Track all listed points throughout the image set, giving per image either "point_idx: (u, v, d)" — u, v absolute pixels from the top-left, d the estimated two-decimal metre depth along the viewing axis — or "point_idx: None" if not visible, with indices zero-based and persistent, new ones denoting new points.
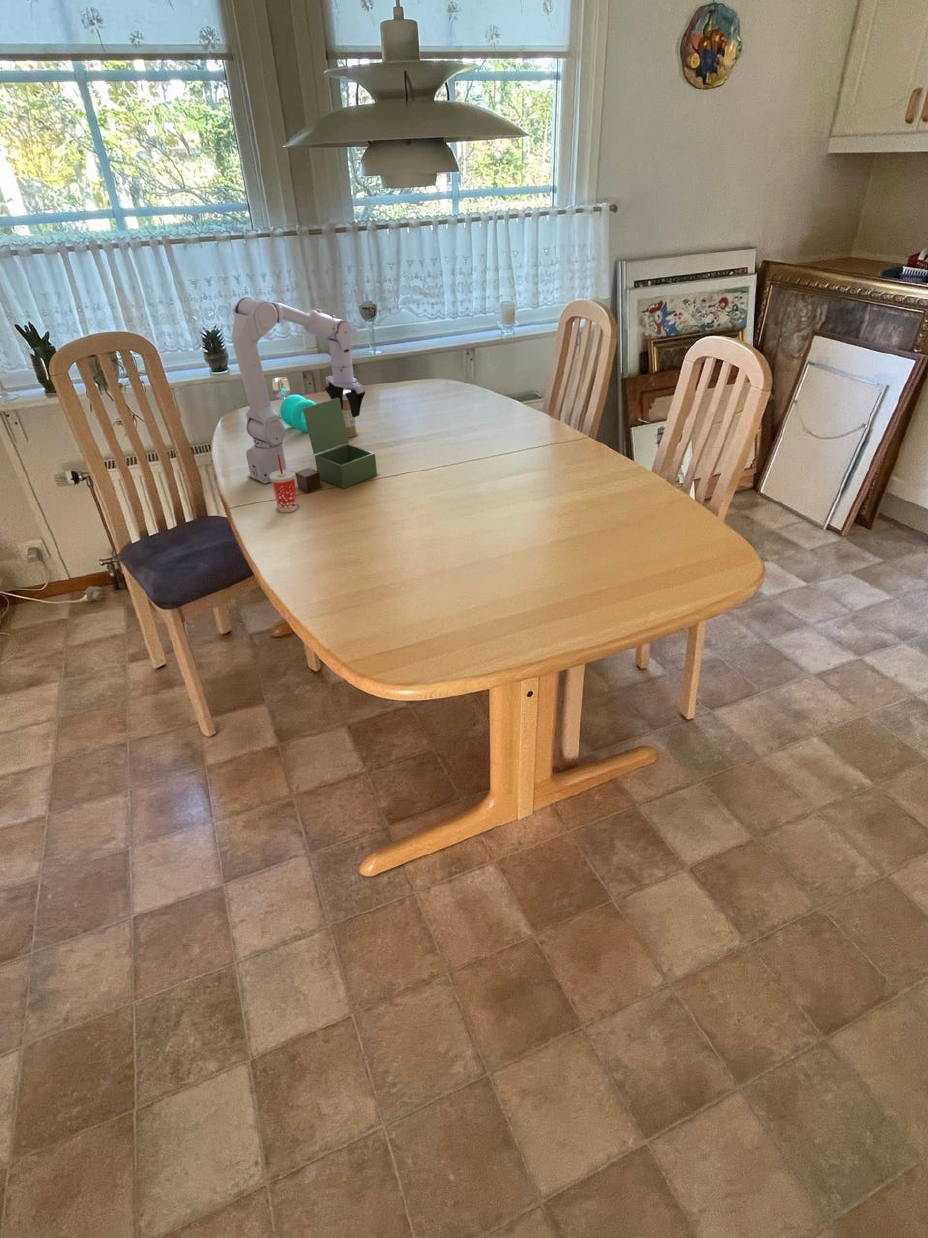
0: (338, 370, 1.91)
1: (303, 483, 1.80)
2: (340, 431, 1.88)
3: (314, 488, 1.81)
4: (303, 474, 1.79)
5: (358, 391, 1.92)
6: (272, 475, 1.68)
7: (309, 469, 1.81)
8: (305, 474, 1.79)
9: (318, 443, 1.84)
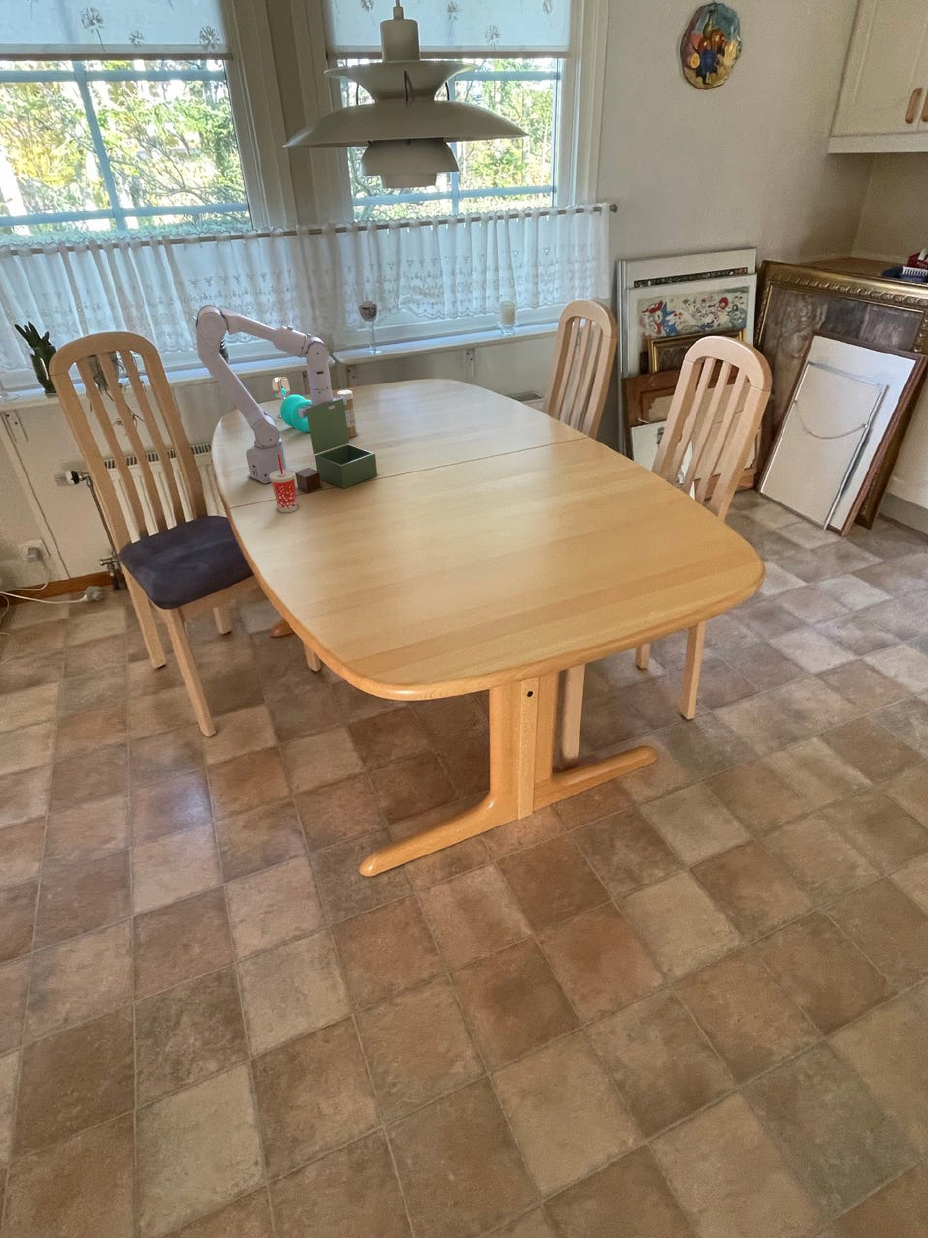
0: None
1: (303, 483, 1.80)
2: (341, 431, 1.88)
3: (314, 488, 1.81)
4: (303, 474, 1.79)
5: (299, 414, 1.82)
6: (272, 475, 1.68)
7: (309, 469, 1.81)
8: (305, 474, 1.79)
9: (319, 443, 1.84)
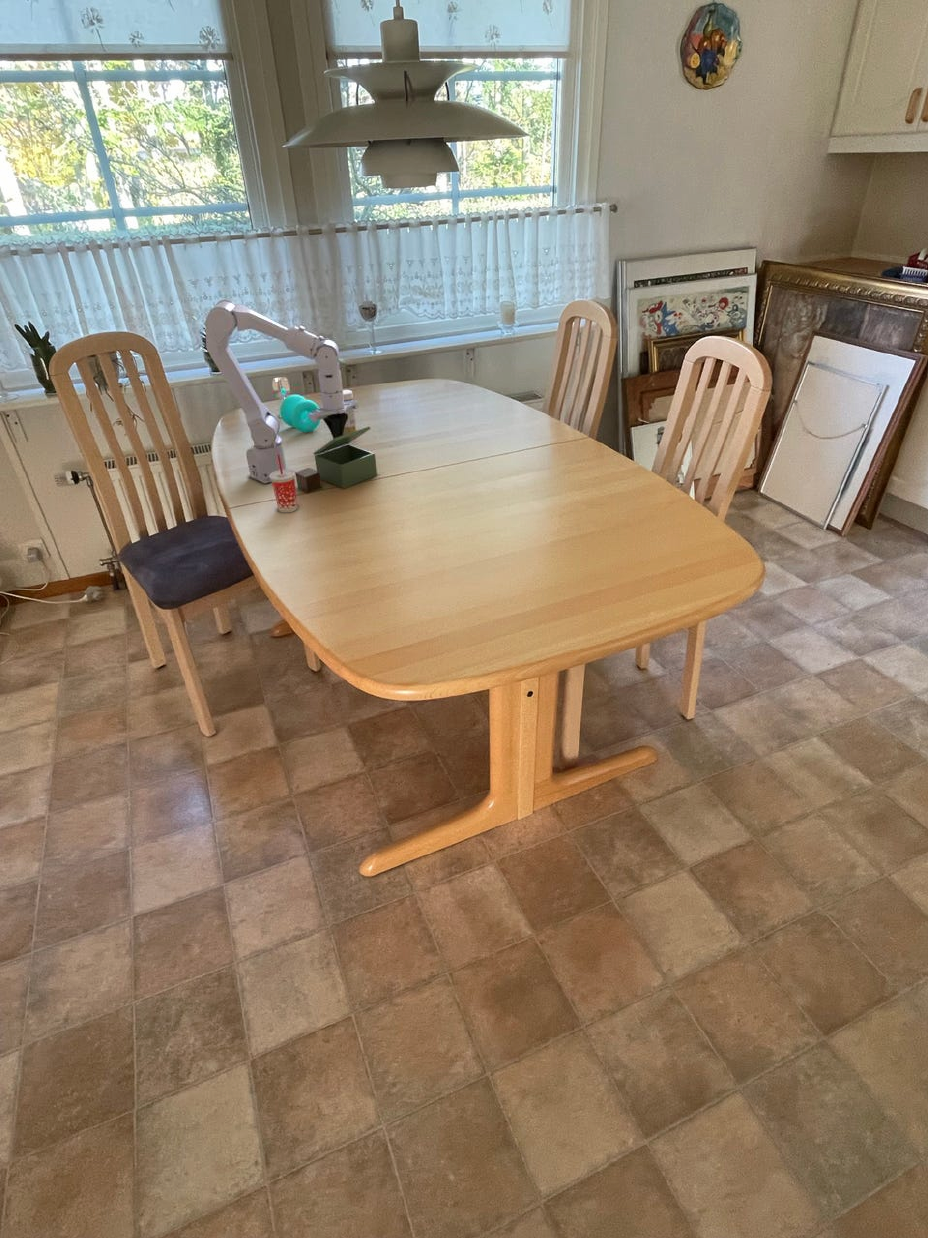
0: None
1: (303, 483, 1.80)
2: (349, 441, 1.88)
3: (314, 488, 1.81)
4: (303, 474, 1.79)
5: (310, 418, 1.79)
6: (272, 475, 1.68)
7: (309, 469, 1.81)
8: (305, 474, 1.79)
9: (324, 450, 1.84)
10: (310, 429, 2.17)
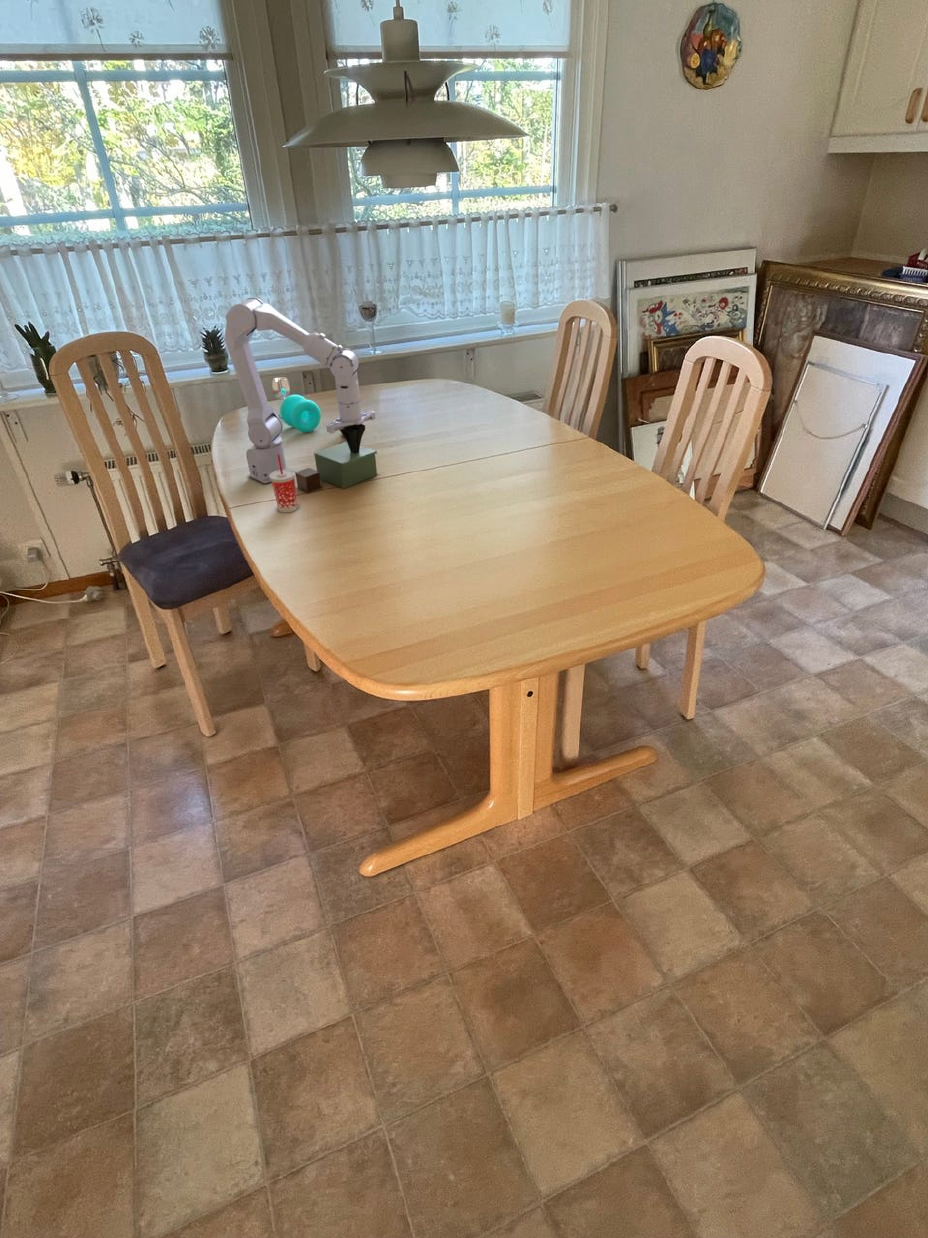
0: None
1: (303, 483, 1.80)
2: None
3: (314, 488, 1.81)
4: (303, 474, 1.79)
5: (327, 429, 1.76)
6: (272, 475, 1.68)
7: (309, 469, 1.81)
8: (305, 474, 1.79)
9: None
10: (310, 429, 2.17)
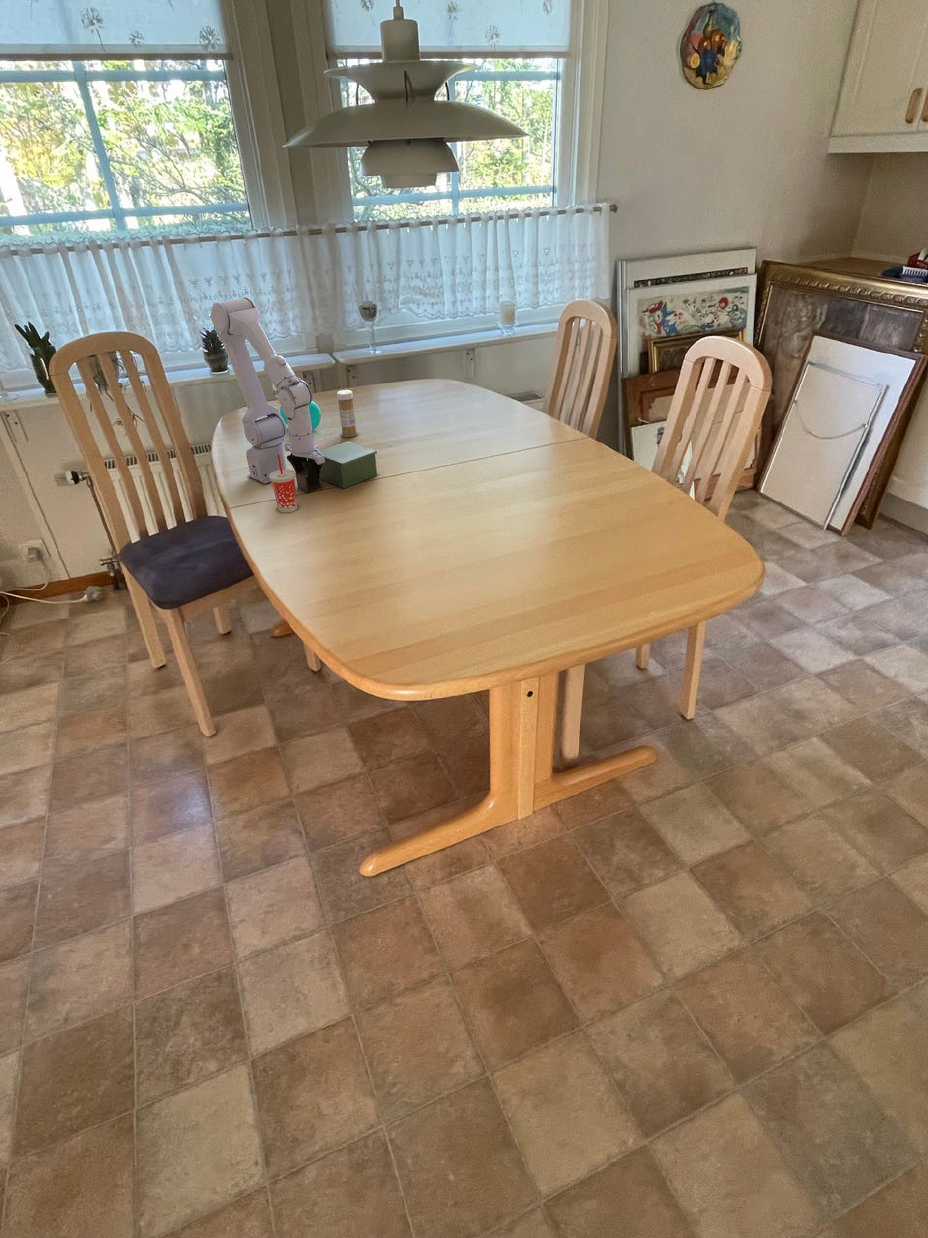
0: (296, 439, 1.72)
1: (303, 483, 1.80)
2: None
3: (314, 488, 1.81)
4: (303, 474, 1.79)
5: (319, 462, 1.73)
6: (272, 475, 1.68)
7: None
8: (305, 474, 1.79)
9: None
10: None
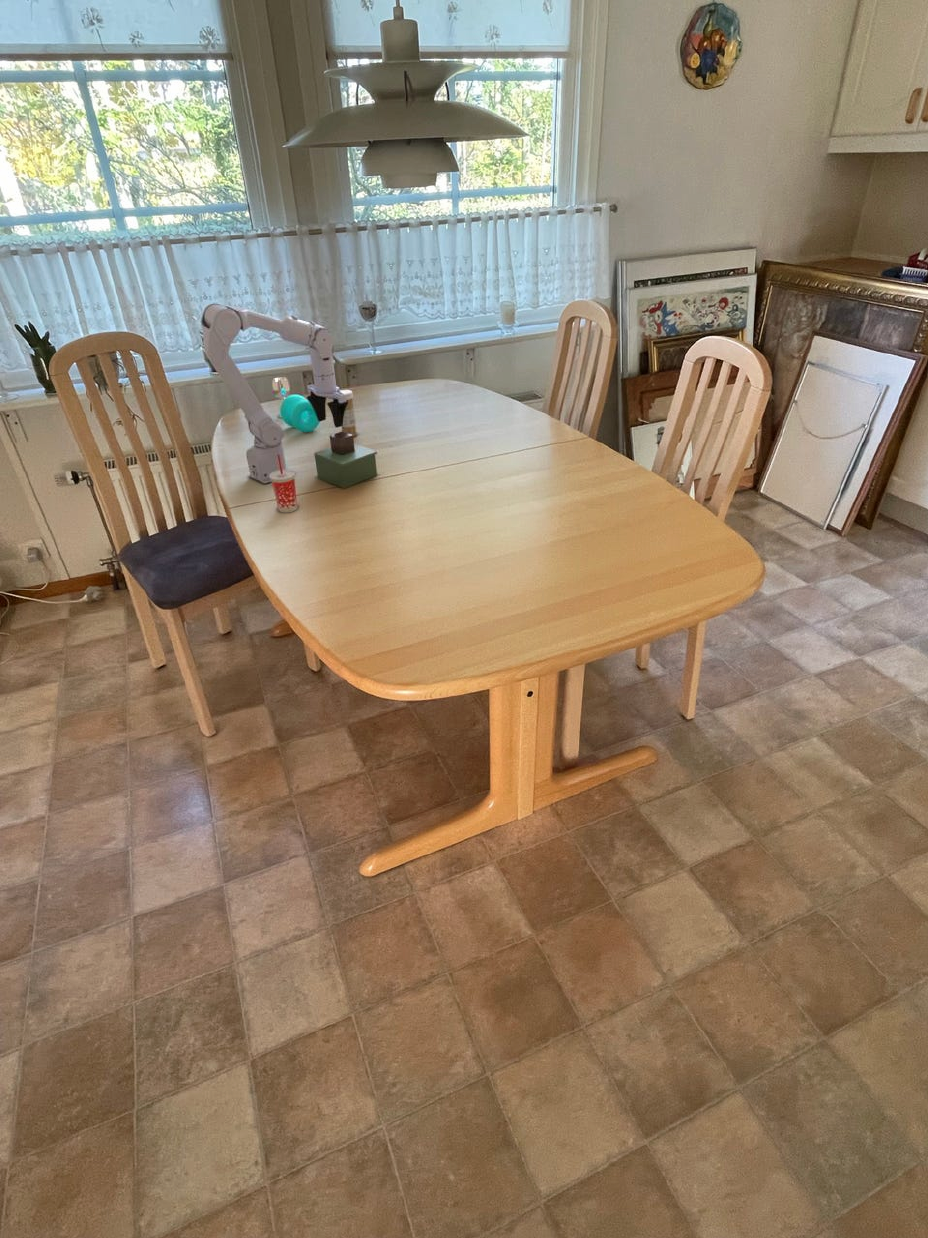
0: (319, 379, 1.84)
1: (337, 445, 1.82)
2: None
3: (348, 451, 1.83)
4: (337, 437, 1.81)
5: (340, 401, 1.84)
6: (272, 475, 1.68)
7: (343, 433, 1.84)
8: (340, 436, 1.81)
9: None
10: (310, 429, 2.17)
